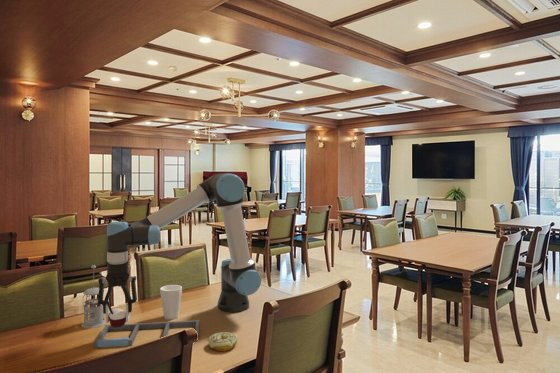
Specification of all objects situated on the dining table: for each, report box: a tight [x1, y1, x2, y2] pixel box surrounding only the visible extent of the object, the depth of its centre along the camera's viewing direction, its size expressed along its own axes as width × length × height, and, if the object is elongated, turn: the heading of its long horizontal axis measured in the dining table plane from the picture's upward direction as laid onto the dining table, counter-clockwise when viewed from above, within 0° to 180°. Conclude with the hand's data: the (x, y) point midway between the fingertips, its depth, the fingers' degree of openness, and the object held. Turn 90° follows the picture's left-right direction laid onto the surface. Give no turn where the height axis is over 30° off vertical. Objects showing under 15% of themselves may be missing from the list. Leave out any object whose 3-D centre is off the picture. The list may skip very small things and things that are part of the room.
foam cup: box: [159, 284, 183, 320], centre depth 178 cm, size 10×9×13 cm
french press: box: [81, 264, 107, 329], centre depth 169 cm, size 10×12×25 cm
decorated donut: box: [208, 331, 238, 352], centre depth 149 cm, size 10×11×4 cm
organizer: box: [93, 319, 200, 349], centre depth 157 cm, size 37×17×2 cm, turn 99°
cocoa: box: [104, 296, 127, 328], centre depth 155 cm, size 10×6×12 cm, turn 120°
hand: (117, 320), depth 155 cm, fingers closed on cocoa, 7 cm apart
